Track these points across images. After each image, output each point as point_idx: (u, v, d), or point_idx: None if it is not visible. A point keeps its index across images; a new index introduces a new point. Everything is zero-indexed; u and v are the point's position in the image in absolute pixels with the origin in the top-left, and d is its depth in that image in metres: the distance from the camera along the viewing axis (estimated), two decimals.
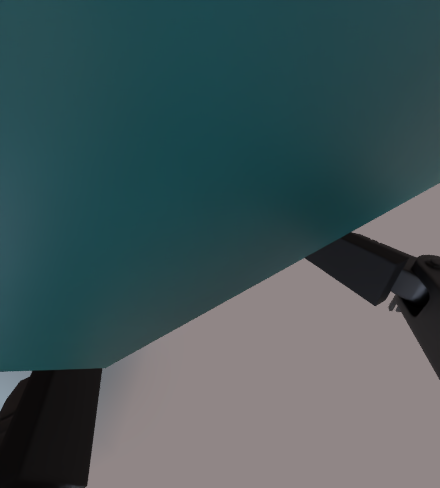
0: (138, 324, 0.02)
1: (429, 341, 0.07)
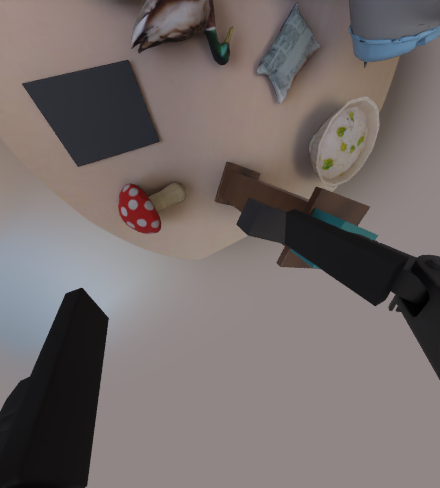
0: None
1: (429, 341, 0.07)
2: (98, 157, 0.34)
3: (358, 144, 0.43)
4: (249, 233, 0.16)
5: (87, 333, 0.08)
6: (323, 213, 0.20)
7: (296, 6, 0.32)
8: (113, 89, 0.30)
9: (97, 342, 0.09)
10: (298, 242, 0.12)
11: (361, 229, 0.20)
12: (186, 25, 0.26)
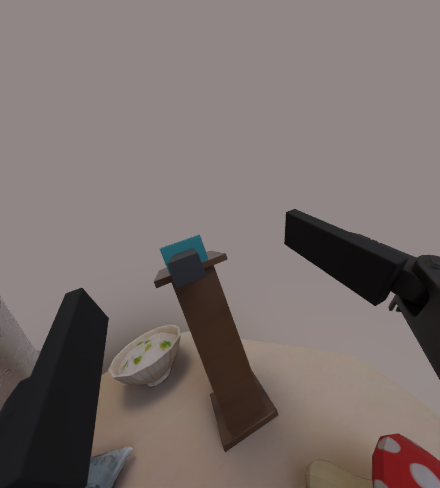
0: None
1: (429, 341, 0.07)
2: None
3: (142, 342, 0.50)
4: (195, 253, 0.17)
5: (87, 333, 0.08)
6: (167, 265, 0.25)
7: None
8: None
9: (97, 342, 0.09)
10: (298, 242, 0.12)
11: None
12: None
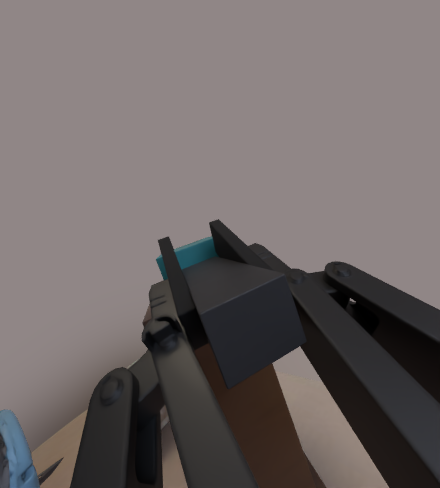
0: None
1: (313, 357, 0.07)
2: None
3: None
4: (278, 275, 0.06)
5: None
6: None
7: None
8: None
9: None
10: (220, 251, 0.13)
11: (160, 255, 0.17)
12: None
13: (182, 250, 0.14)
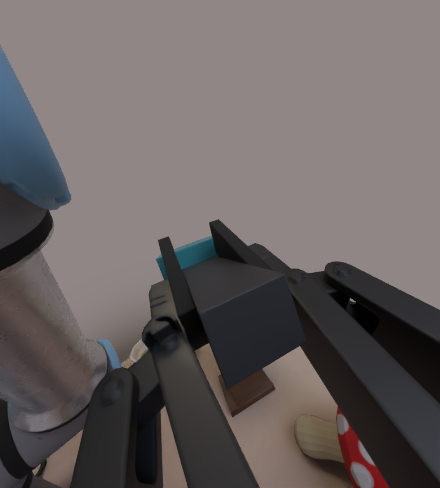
0: None
1: (313, 357, 0.07)
2: None
3: None
4: (277, 275, 0.06)
5: None
6: None
7: None
8: None
9: None
10: (220, 251, 0.13)
11: (160, 255, 0.17)
12: None
13: (182, 250, 0.14)
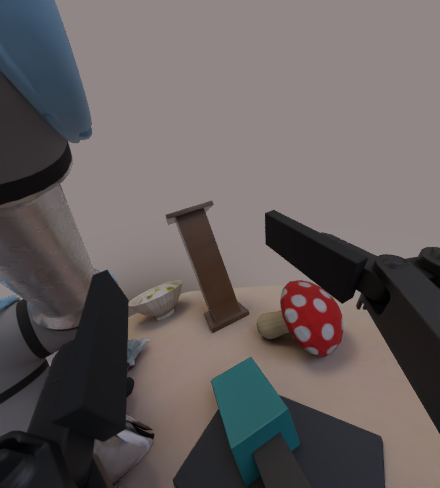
0: (271, 402, 0.18)
1: (394, 339, 0.07)
2: (327, 419, 0.18)
3: (152, 289, 0.64)
4: None
5: (115, 309, 0.09)
6: (243, 473, 0.15)
7: None
8: (220, 471, 0.17)
9: (122, 318, 0.10)
10: (277, 242, 0.13)
11: (220, 409, 0.19)
12: None
13: (252, 434, 0.16)
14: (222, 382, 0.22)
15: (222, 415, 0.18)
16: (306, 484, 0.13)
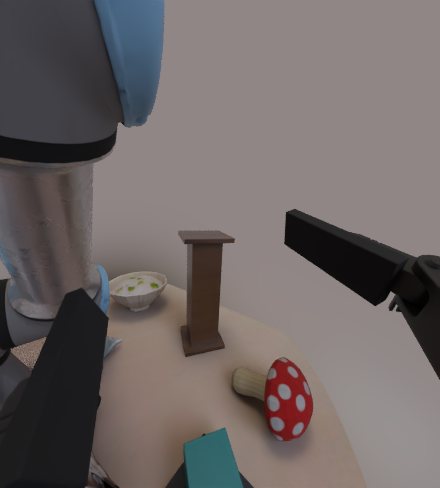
0: None
1: (429, 341, 0.07)
2: None
3: (135, 278, 0.62)
4: None
5: (87, 333, 0.08)
6: None
7: None
8: None
9: (97, 342, 0.09)
10: (298, 242, 0.12)
11: None
12: None
13: None
14: (195, 452, 0.23)
15: None
16: None
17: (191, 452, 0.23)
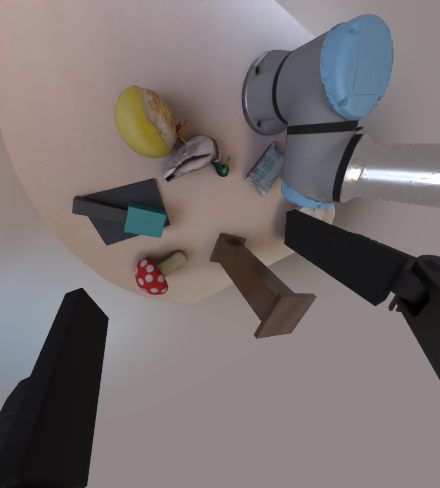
0: (131, 228, 0.40)
1: (429, 341, 0.07)
2: (123, 238, 0.44)
3: None
4: (72, 212, 0.36)
5: (88, 332, 0.08)
6: None
7: (273, 144, 0.46)
8: (141, 196, 0.41)
9: (97, 342, 0.09)
10: (298, 242, 0.12)
11: (147, 211, 0.40)
12: (200, 167, 0.38)
13: (127, 215, 0.38)
14: (159, 219, 0.41)
15: (143, 210, 0.39)
16: (107, 218, 0.38)
17: (160, 217, 0.41)
